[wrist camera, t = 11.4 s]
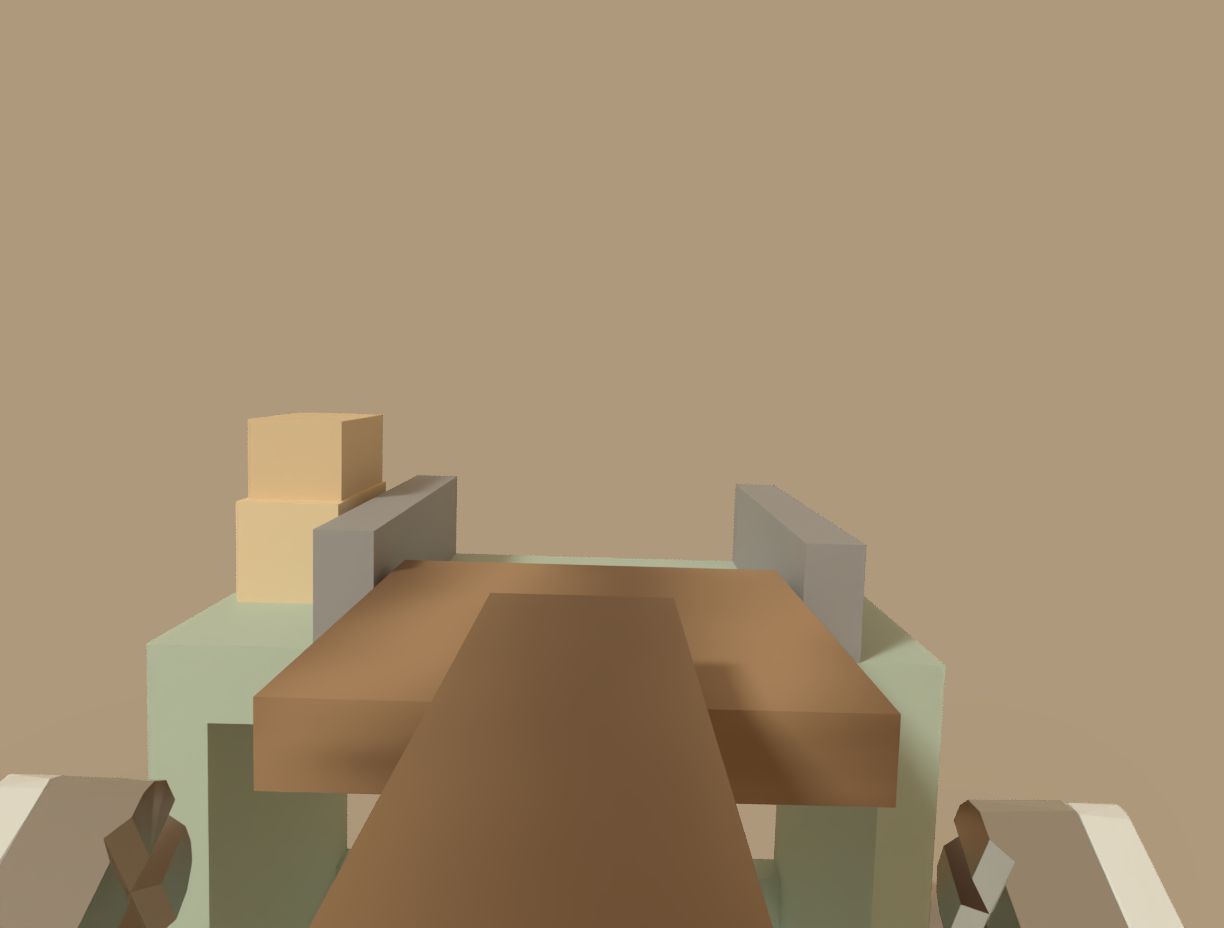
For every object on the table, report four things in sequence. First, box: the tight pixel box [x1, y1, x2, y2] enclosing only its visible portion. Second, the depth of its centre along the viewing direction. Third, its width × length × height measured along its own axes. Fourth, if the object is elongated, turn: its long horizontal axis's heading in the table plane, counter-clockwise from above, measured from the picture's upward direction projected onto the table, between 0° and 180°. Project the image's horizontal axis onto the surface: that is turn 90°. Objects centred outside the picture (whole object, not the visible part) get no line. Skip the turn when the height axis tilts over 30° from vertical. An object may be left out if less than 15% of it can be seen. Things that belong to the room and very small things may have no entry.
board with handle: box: [253, 560, 901, 928], centre depth 15 cm, size 10×20×3 cm, turn 0°
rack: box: [146, 412, 945, 928], centre depth 31 cm, size 20×13×31 cm, turn 90°
